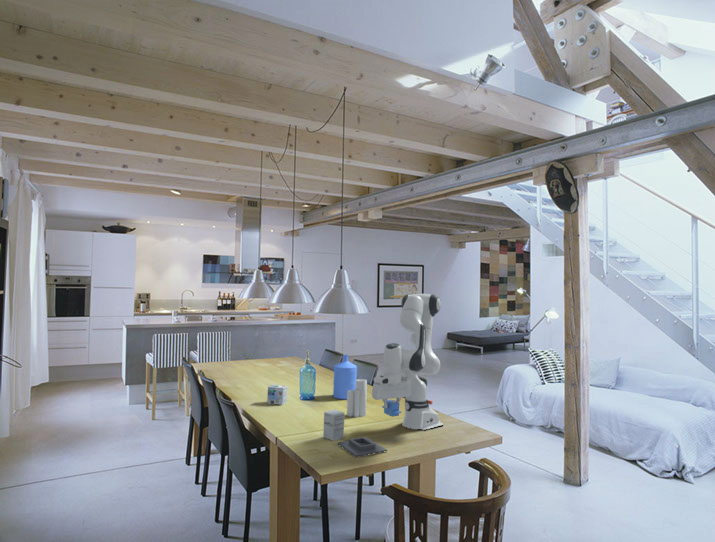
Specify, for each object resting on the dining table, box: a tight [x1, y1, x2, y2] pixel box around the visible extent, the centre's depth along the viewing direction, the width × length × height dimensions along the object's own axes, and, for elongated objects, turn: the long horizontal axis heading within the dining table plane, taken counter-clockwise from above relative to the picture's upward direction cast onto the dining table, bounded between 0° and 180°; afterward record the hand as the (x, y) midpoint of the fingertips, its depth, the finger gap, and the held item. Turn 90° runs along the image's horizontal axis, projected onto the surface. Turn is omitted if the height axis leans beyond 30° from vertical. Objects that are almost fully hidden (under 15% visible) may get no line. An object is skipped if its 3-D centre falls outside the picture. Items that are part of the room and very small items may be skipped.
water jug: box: [332, 354, 358, 400], centre depth 303 cm, size 16×16×28 cm
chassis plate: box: [337, 436, 388, 458], centre depth 207 cm, size 16×18×3 cm
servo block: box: [381, 399, 402, 418], centre depth 214 cm, size 4×12×7 cm, turn 28°
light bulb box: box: [266, 384, 288, 406], centre depth 282 cm, size 11×7×11 cm, turn 76°
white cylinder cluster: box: [346, 378, 368, 418], centre depth 260 cm, size 11×7×20 cm, turn 116°
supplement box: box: [322, 409, 345, 442], centre depth 220 cm, size 7×7×13 cm
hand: (391, 407), depth 214 cm, fingers closed on servo block, 4 cm apart
